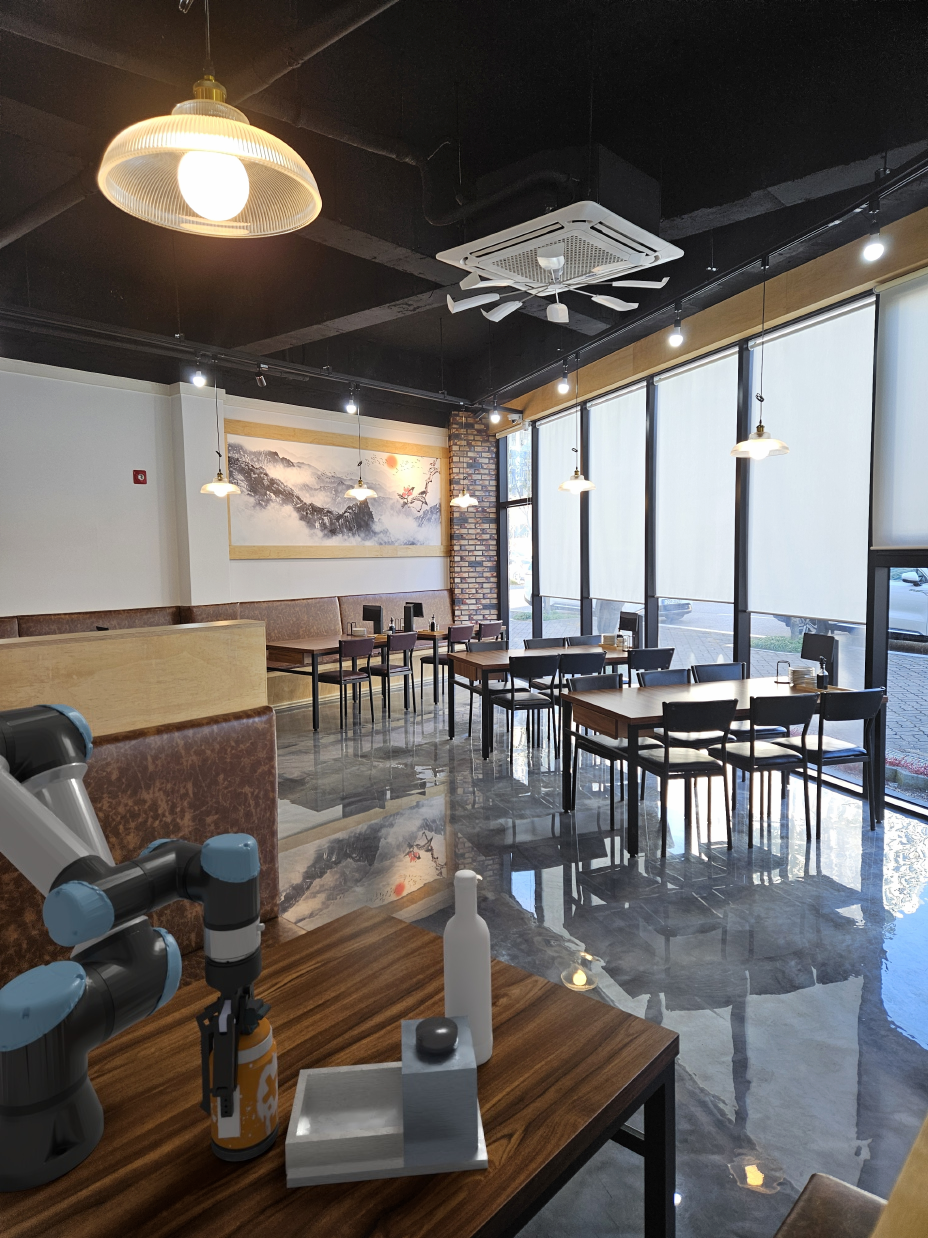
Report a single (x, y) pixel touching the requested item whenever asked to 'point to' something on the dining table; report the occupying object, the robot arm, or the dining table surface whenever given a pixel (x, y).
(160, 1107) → the dining table surface
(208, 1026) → the canister
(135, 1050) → the dining table surface
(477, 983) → the bottle
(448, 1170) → the grey holder tray
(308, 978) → the dining table surface
